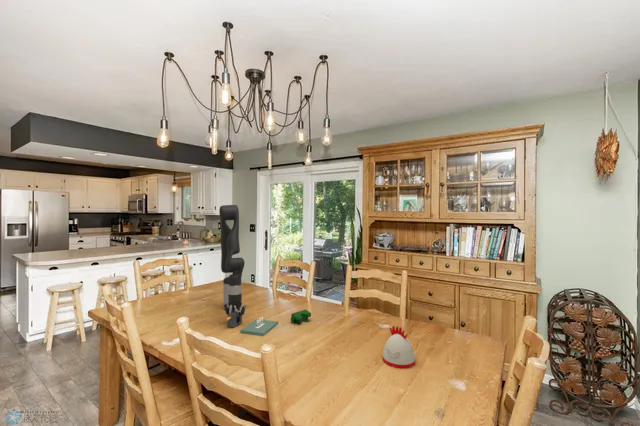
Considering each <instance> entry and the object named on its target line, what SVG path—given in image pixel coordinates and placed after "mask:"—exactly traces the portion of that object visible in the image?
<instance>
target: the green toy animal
mask: <svg viewBox="0 0 640 426" xmlns="http://www.w3.org/2000/svg"><path fill="white" fill-rule="evenodd" d="M311 317H312V312H310V311H309V310H308V309H302V310H299V311H296V312H292V313H291V315H290V323H293V324H296V323H298V324H299V325H302V322H303V321H304V322H306V323H308V322H309V318H311Z"/></svg>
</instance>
